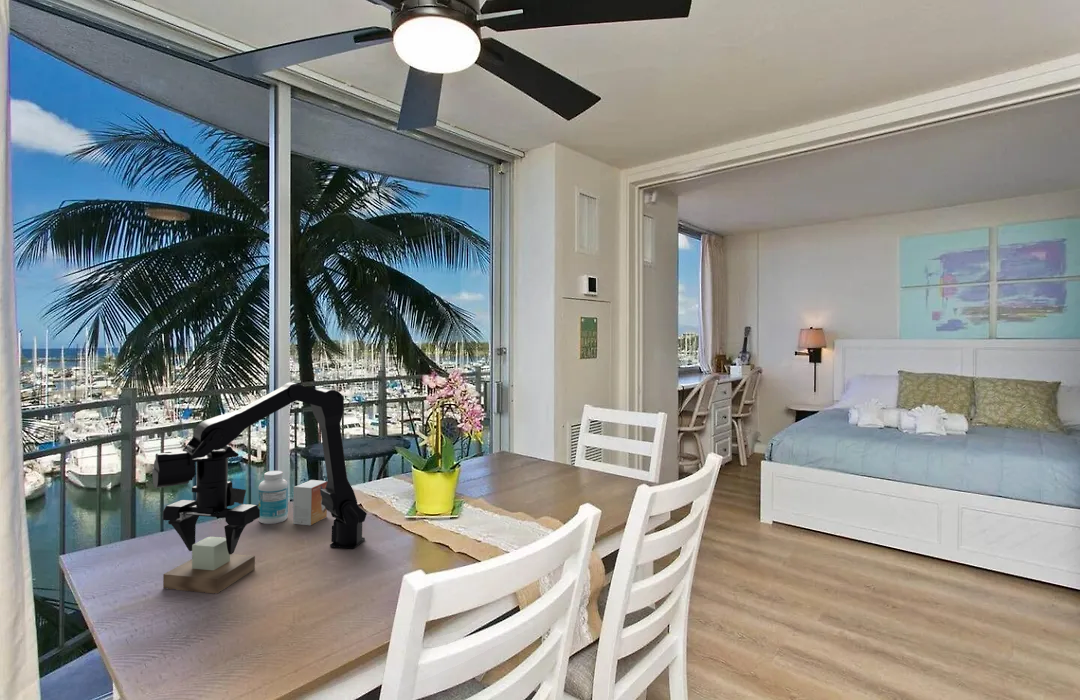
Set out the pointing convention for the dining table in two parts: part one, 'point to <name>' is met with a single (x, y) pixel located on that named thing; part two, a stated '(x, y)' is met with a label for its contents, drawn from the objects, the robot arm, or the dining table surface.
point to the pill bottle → (273, 498)
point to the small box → (308, 503)
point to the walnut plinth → (209, 575)
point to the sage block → (210, 553)
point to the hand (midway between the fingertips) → (211, 552)
